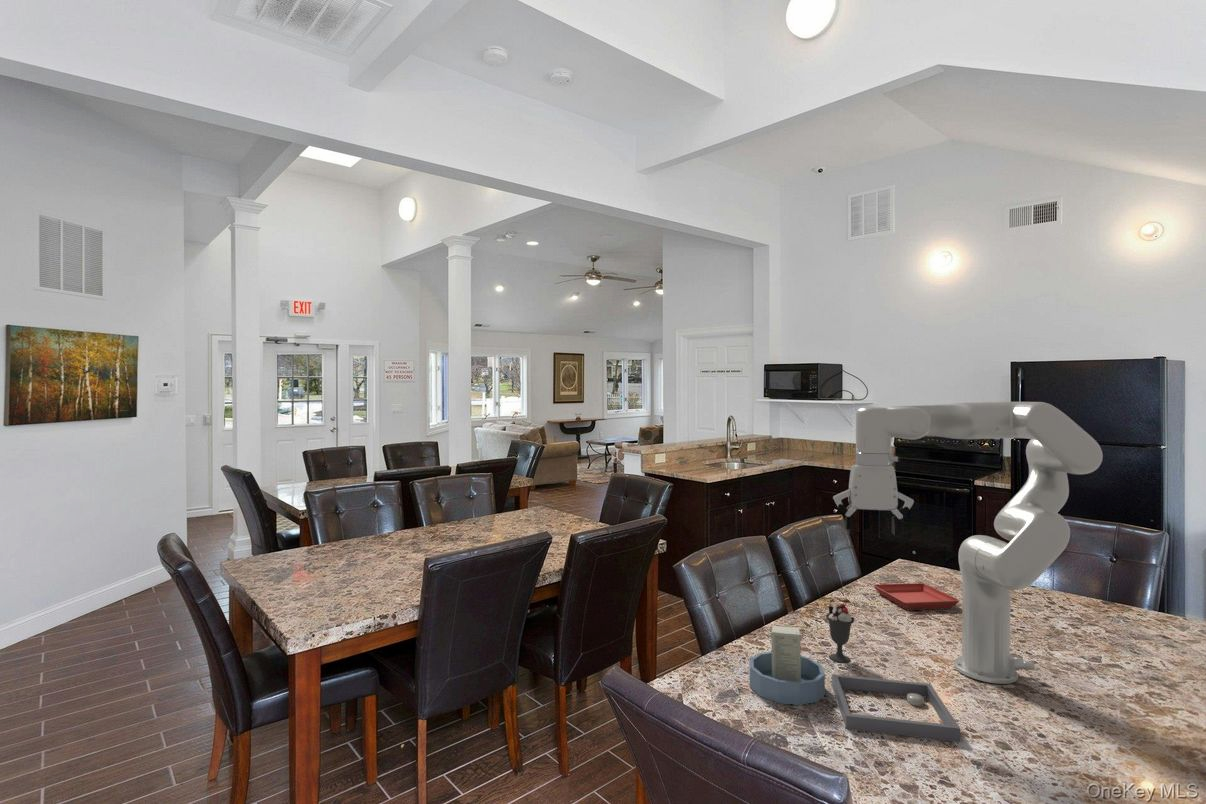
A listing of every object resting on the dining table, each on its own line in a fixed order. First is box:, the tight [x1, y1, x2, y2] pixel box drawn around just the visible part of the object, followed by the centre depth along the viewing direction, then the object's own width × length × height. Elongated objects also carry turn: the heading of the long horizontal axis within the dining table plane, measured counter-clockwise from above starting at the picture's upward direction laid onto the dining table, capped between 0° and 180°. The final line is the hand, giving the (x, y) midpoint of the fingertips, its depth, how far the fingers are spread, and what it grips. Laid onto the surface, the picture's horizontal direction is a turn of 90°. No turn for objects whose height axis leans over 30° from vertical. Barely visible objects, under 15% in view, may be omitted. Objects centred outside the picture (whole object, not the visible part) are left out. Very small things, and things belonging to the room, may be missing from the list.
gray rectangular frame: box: [831, 673, 962, 743], centre depth 124 cm, size 20×18×2 cm
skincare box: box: [770, 624, 802, 682], centre depth 134 cm, size 6×4×12 cm
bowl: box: [749, 651, 826, 706], centre depth 134 cm, size 16×16×4 cm
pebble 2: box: [906, 693, 925, 708], centre depth 127 cm, size 3×3×1 cm
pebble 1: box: [855, 711, 873, 716], centre depth 119 cm, size 3×3×1 cm
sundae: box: [825, 598, 856, 664], centre depth 148 cm, size 7×7×15 cm
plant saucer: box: [873, 582, 961, 611], centre depth 191 cm, size 18×18×3 cm
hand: (872, 533), depth 141 cm, fingers open, 9 cm apart
